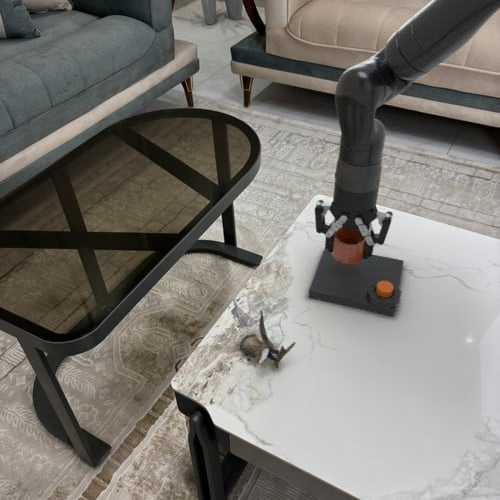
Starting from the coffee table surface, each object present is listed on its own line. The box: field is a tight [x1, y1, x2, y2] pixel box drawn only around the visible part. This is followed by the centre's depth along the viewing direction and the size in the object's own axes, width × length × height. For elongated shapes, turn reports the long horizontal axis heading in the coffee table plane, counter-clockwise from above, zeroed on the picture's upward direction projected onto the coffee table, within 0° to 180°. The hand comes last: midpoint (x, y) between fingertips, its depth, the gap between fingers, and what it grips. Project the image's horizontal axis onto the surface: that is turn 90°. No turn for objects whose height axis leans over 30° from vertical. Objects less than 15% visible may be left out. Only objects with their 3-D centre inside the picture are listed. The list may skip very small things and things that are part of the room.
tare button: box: [376, 281, 394, 298], centre depth 91 cm, size 3×3×2 cm
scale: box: [308, 247, 405, 317], centre depth 97 cm, size 16×14×4 cm
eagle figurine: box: [239, 309, 296, 369], centre depth 84 cm, size 8×7×9 cm
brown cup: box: [332, 226, 366, 265], centre depth 95 cm, size 6×6×5 cm
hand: (348, 252), depth 96 cm, fingers closed on brown cup, 6 cm apart
